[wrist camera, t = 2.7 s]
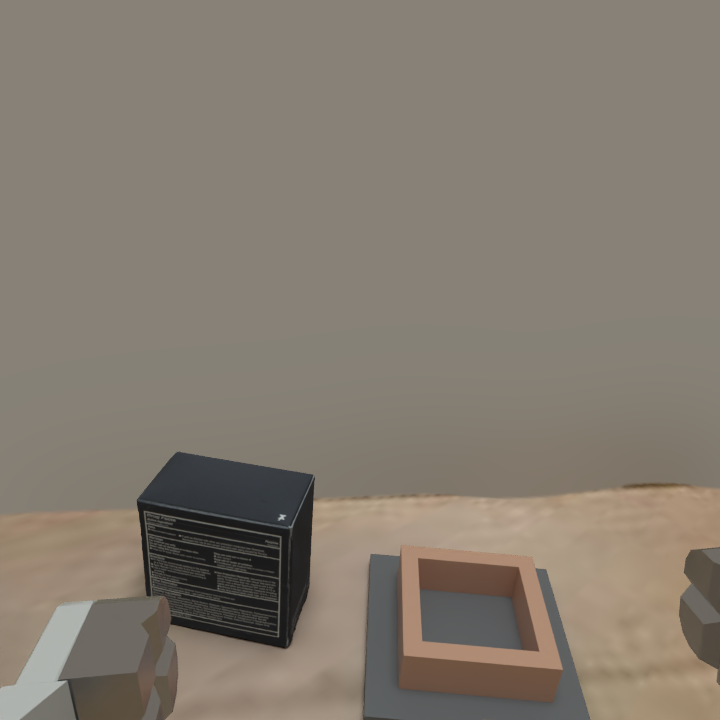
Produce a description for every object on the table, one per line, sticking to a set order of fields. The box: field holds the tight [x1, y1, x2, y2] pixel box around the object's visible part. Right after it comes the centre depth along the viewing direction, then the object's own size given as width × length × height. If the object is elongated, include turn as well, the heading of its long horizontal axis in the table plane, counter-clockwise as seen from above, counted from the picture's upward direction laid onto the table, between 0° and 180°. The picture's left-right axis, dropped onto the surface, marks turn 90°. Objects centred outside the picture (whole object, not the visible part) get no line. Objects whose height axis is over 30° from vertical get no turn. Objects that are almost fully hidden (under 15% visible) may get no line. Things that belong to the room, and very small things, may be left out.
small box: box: [137, 452, 315, 647], centre depth 46 cm, size 11×6×10 cm, turn 79°
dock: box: [363, 545, 590, 720], centre depth 45 cm, size 14×14×4 cm
